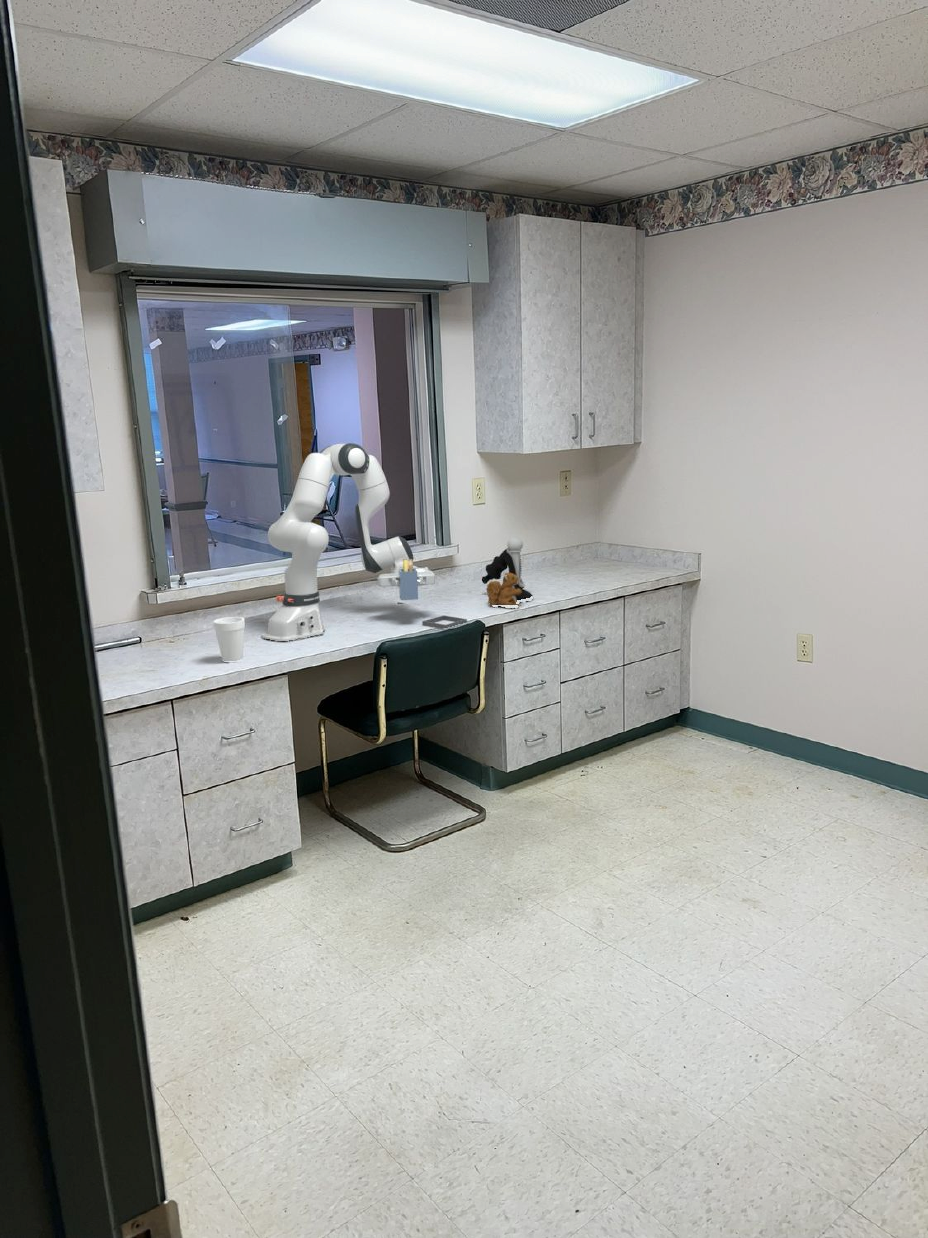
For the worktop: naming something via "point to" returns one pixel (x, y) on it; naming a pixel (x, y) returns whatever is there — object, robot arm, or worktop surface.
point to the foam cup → (230, 637)
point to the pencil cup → (408, 585)
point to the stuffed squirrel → (503, 591)
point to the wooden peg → (410, 564)
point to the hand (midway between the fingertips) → (408, 583)
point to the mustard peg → (405, 565)
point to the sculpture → (510, 560)
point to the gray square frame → (436, 625)
